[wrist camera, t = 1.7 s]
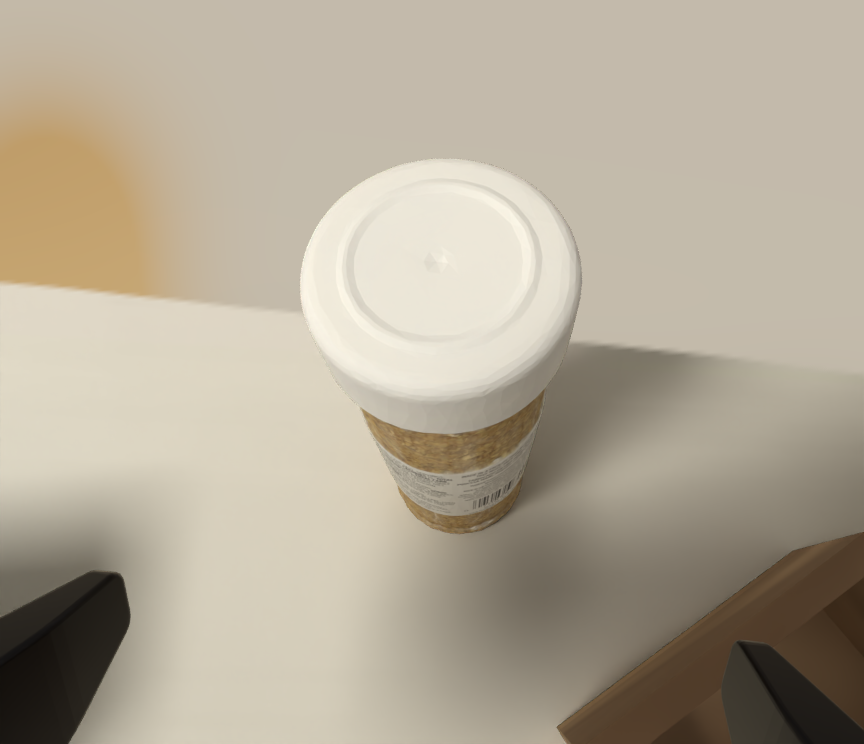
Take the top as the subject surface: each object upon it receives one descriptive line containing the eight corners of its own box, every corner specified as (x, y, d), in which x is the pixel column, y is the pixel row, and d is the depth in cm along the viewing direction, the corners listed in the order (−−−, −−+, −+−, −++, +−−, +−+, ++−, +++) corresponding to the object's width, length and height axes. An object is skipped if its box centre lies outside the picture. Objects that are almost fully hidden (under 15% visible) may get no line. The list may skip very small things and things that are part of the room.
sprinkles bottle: (482, 392, 23) (492, 107, 11) (547, 498, 21) (650, 306, 9) (374, 448, 22) (249, 216, 10) (431, 562, 20) (367, 451, 8)
